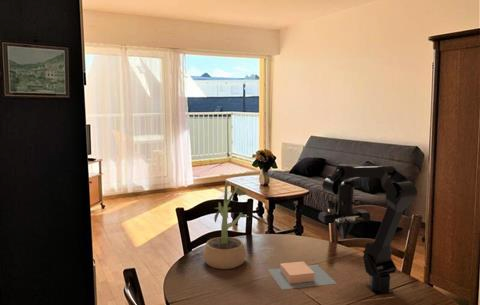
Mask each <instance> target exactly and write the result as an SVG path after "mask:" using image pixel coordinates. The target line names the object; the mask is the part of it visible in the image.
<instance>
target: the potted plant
mask: <svg viewBox="0 0 480 305" xmlns="http://www.w3.org/2000/svg"><path fill="white" fill-rule="evenodd" d="M235 194H236V195H237V196H239V197H240V196H245V195H246V194H247V193H246V192H245V191H244V190H242V189H240V188H239V185H238V184H237V185H236V187H235V189H234V190H233V191H232V193H231V194H230V196H229V197H228V182H225V183H224V195H223V196H224V197H223V205H222V203H221V202H220V201H218V207H214V209H216V210H218V211H216V213H215V214H214V222H215V224H216V223H217V220H218V217H219V214H220V216H221V219H222V220H221V227H220V228H221V231H220V232H221V235H220V236H219V237H213V238H210V239H209V240H207V241H206V243H205V246H204V248H203V251H202V257H203V261H204V263H205V264H206V265H208V266H209V267H212V268H214V269H219V270H230V269H234V268H237V267H240V266H241V265H242V264H243V263H244V262H245V260H246V258H247V251H246V247H245V244H244V243H243V240H241V239H239V238H237V237H232V236H229V235H228V230H229V229H230V228H232V227H233V226H235V225H236V224H237V223H238V221H240V219H241V218H249V217H250V216H248V215H246V214H245V213H243V212H239V214H238V216H236V218H235V219H234V220H233V221H231V222H229V223H228V219H229V210H230V211H231V209H232V207H230V206H229V207H228V205H229V204H230V202H231V201H232V199H233V197H234V196H235Z"/></svg>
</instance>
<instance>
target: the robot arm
mask: <svg viewBox="0 0 480 305" xmlns="http://www.w3.org/2000/svg"><path fill="white" fill-rule="evenodd" d="M360 178H378V179H379V180H380V183H381V187H382V189H383V190H384V191H385V200H386V204H387V206H386V209H385V212H384V214H383V218H382V220H381V223H380V225H379V228H378V231H377V233H376V237H375V239H374V240H373V241H369V242H367V243H365V247H364V250H363V251H362V254H363V257H362V259H363V264H364V268H365V273H367V274H368V276H369V277H370V278H369V284H366V285H365V286H366V288H368V289H369V290H370V291H371V292H372V293H373V294H375V295H376V296H380V295H388V294H389V295H390V294H394V291H393V290H392V289H390V285H391V275H390V274H395V273H396V272H397V266H396V264H395V263H394V262H395V261H393V258H392V255H393V254H392V253H393V252H392V249H391V245H392V241H393V238H394V237H395V233H396V231H397V229H398V226H399V224H400V221H401V219H402V216H403V213H404V212H405V211H404V210H406V209H407V208H408V207H409V206H410V205H412V203H413V201H414V200H415V199H416V197H417V194H418V189H417V187H416V185H415V183H414V182H413V181H411V180H410V179H409V178H408V177H407V176H406V175H404V174H403V173H401V172H400V171H398V170H397V169H396V168H395V166H393V165H391V164H386V165H365V166H364V165H363V166H362V165H360V164H357V163H354V162H353V163H343V164H337V165H336V169H335V170H334V172H333V173H332V174H327V175H326V178H325V179H324V181H322V185H321V186H322V189H323V190H324V191H325V192H326V193H329V194H332V195H336V196H337V198H335V202H334V201H333V200H326V201H325V208H326V210H330V211H320V212H319V213H318V217H317V218H318V220H320V222H322V223H324V224H334V223H336V224H337V226H338V229H339V232H340V234H341V235H340V236H341V238H342V239H343V240H346V239H347V236H348V235H349V233H350V232H351V230H352V228H353V227H354V226H355V224H357V223H358V221H357V220H356V219H359V218H361V219H362V220H363V222H366V221H371V220H372V214H371V212H370V211H367V210H365V209H362V208H361V209H354V205H356V201H354V196H355V188H356V189H357V188H359V187H360V186H359V184H358V183H357V182H356V181H355V180H356V179H360ZM391 180H392V181H393V182H392V181H391ZM332 212H333V213H332Z"/></svg>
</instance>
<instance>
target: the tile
mask: <svg viewBox="0 0 480 305" xmlns="http://www.w3.org/2000/svg"><path fill="white" fill-rule="evenodd" d="M279 264H280V267H279V268H280V272H281V273H282V274H283V276H284V277H285V278H286V279H287V281H288V282H289V283H290V284H292V283H301V282H310V281H314V274H315V273H314V272H313V271H312V270H311V269H310V268H309V267H308V266H309V265H307V263H306V262H305V261H294V262H285V263H284V262H283V263H279Z"/></svg>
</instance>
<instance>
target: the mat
mask: <svg viewBox="0 0 480 305" xmlns="http://www.w3.org/2000/svg"><path fill="white" fill-rule="evenodd" d="M307 266H308V267H309V268H310V269H311V270H312V271H313V272H314V273H315V274H314V281H310V282H301V283H292V284H290V283H289V282H288V281H287V279H286V278H285V277H284V276H283V274H282V273H281V272H280V267H279V268H270V269H267V271H268V272H269V274H270V275H271V277H272V278H273V279H274V281H275V282H276V283H277V285H278V286H279V288H280V289H281V290H290V289H299V288H300V289H301V288H308V287H309V288H311V287H319V286H327V285H337V283H338V282H336V281H335V280H334V279H333V278H332V277H331V276H330V275H329V274H328V273H327V272H326V271H325V270H324V269H322V268H321V267H320V266H319V264H311V265H307Z"/></svg>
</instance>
